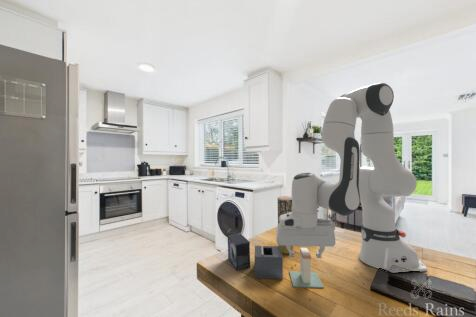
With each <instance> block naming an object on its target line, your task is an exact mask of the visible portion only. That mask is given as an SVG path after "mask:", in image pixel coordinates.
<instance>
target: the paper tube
mask: <svg viewBox="0 0 476 317" xmlns="http://www.w3.org/2000/svg"><path fill="white" fill-rule="evenodd" d="M292 206H293V201H292V196H288V195H280V196H277V225H278V224H279V223H280V220H279V217H280V215H283V214H286V213H289V212H292ZM277 245H278V244H277ZM278 246H280V249H281V253H282V254H285V255H289V251H288V249H287V247H286V246H285V245H278ZM290 250H291V251H293V252H294V246H291V248H290Z"/></svg>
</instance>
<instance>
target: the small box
mask: <svg viewBox="0 0 476 317" xmlns="http://www.w3.org/2000/svg"><path fill="white" fill-rule="evenodd" d="M250 244H251V242H250V241H249V240H248V239H247V238H246V237H245V236H244V235H243V234H242V233H241V232H239V233H234V234H229V235H227V257H228V258H227V259H228V261H229V262H230V263H231V265H232V266H233V267H234V269H235V270H236V271H237V272H238V271H241V270H247V269H249V268H251V249H250V248H251V247H250V246H251V245H250Z"/></svg>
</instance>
